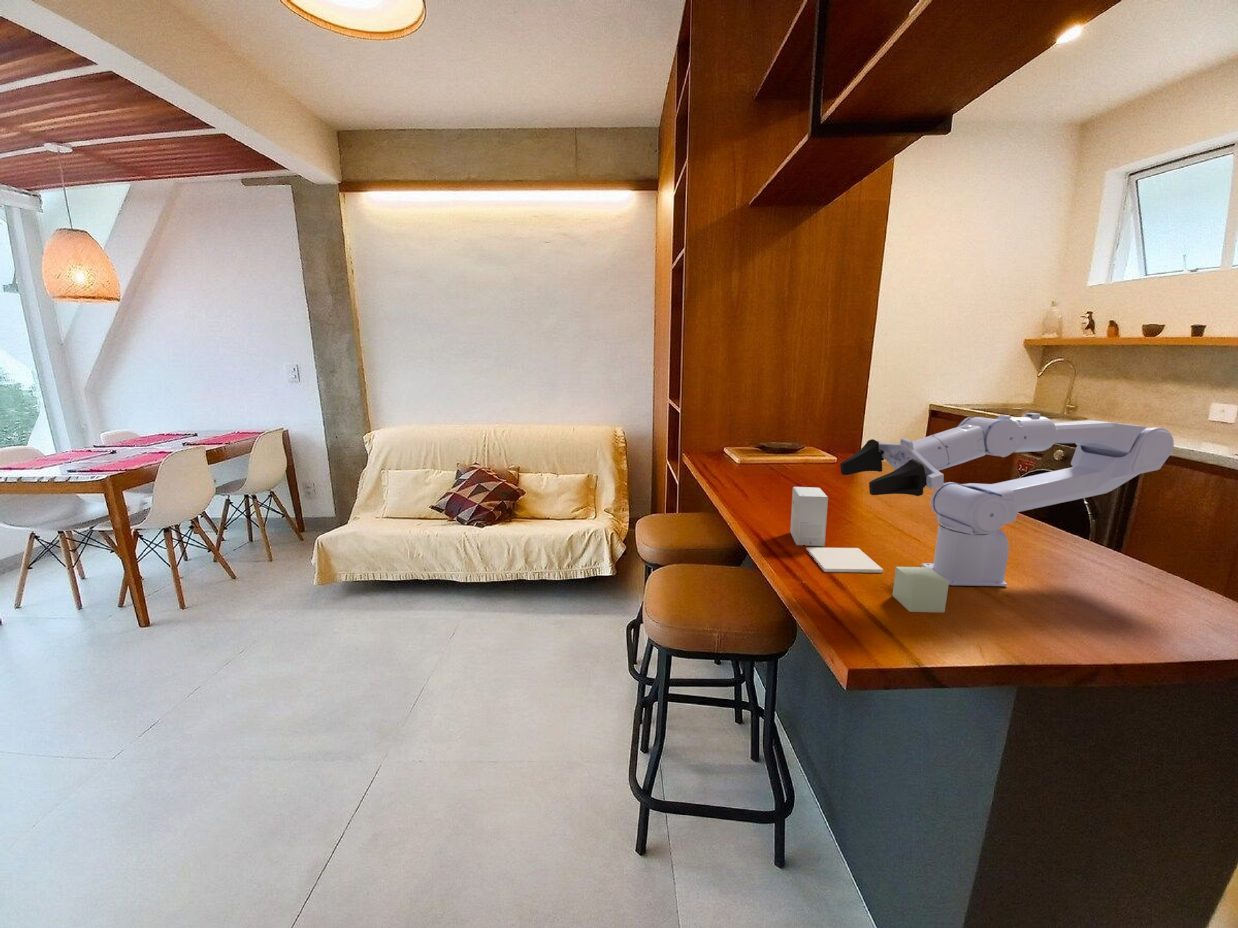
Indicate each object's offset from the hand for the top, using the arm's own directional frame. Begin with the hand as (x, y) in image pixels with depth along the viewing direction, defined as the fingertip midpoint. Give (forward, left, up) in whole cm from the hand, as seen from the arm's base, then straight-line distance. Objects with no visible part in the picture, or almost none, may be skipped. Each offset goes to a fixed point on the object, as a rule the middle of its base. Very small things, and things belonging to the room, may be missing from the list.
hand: (855, 478), depth 76 cm
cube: (-8, +7, -18) cm, 21 cm away
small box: (0, -20, -18) cm, 27 cm away
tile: (-3, -9, -18) cm, 20 cm away
